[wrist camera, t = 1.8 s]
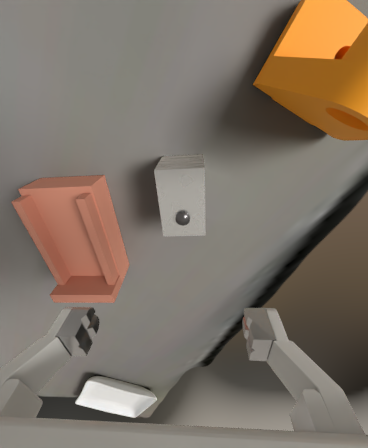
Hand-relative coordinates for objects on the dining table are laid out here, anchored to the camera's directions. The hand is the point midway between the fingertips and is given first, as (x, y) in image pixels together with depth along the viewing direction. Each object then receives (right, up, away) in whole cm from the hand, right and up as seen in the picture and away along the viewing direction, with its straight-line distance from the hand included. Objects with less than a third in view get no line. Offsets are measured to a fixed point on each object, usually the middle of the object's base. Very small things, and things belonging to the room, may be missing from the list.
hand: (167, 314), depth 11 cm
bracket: (+14, +20, +9) cm, 26 cm away
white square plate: (-21, -48, +54) cm, 75 cm away
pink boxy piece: (-14, +4, +20) cm, 25 cm away
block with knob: (+1, +10, +16) cm, 19 cm away
